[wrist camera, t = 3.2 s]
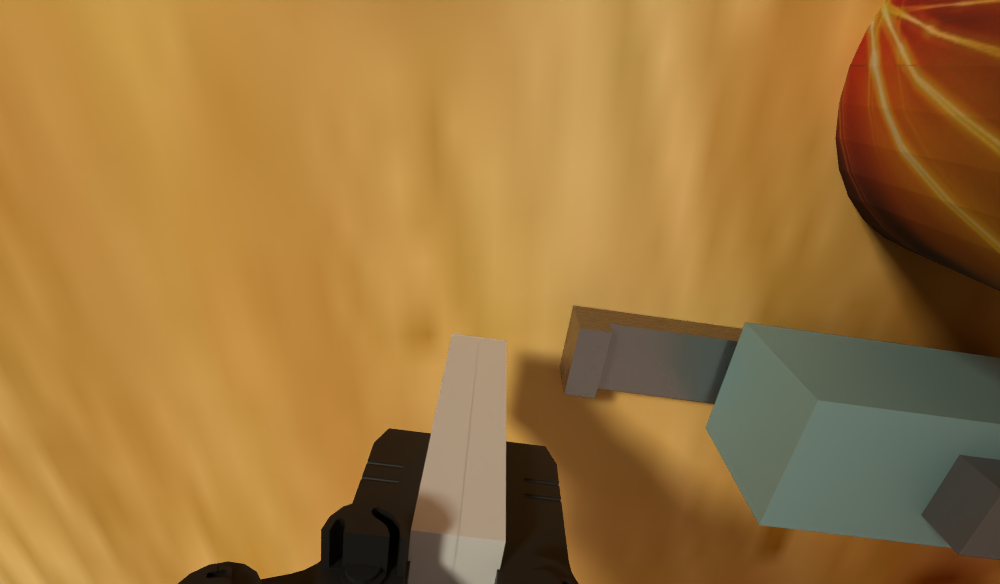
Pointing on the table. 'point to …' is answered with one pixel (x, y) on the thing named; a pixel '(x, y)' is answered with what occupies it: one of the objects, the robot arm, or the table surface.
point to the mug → (928, 131)
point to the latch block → (863, 438)
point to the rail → (645, 355)
